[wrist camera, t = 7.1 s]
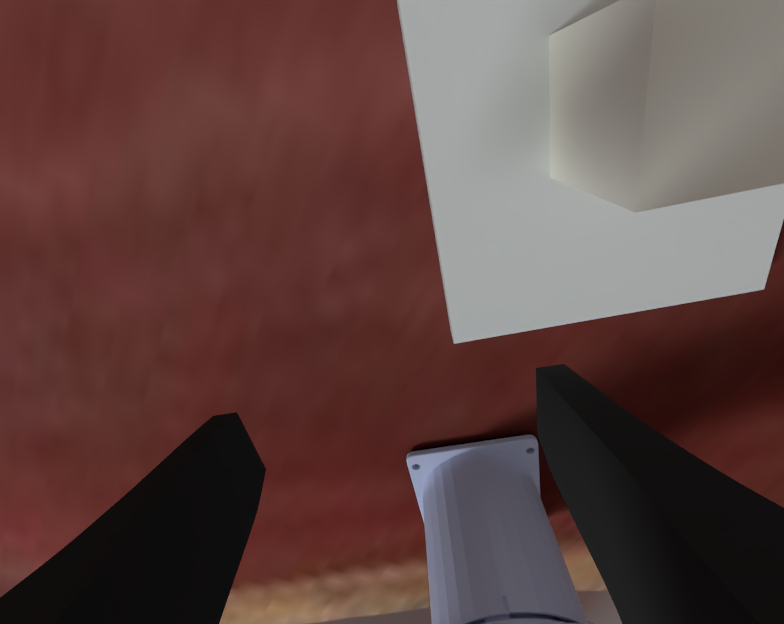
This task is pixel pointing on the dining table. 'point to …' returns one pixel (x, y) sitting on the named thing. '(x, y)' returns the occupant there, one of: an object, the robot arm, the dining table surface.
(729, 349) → the dining table surface
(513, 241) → the light gray slab
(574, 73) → the cream rectangular prism
